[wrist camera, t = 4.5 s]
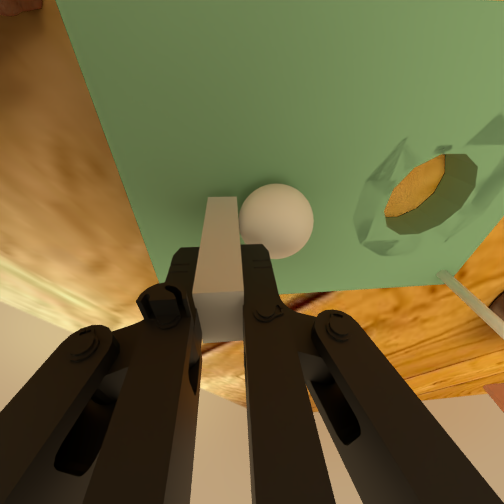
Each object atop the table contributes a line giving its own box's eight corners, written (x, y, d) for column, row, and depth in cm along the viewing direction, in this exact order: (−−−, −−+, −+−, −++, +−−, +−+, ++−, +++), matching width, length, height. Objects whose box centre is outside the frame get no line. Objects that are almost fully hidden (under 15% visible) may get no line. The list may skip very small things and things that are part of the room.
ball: (220, 187, 10) (292, 218, 8) (271, 166, 13) (336, 187, 11) (224, 251, 13) (280, 286, 11) (266, 223, 15) (317, 248, 13)
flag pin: (378, 253, 20) (554, 459, 9) (427, 251, 21) (651, 446, 10) (375, 260, 21) (539, 462, 10) (423, 257, 21) (631, 450, 10)
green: (172, 279, 20) (166, 301, 18) (85, 1, 9) (48, -19, 7) (427, 265, 22) (447, 283, 20) (597, 20, 11) (674, 8, 9)
